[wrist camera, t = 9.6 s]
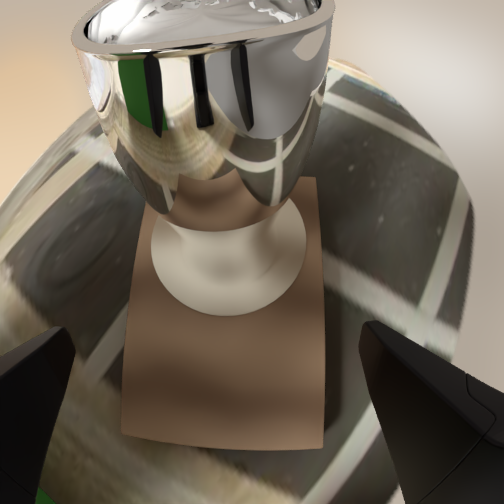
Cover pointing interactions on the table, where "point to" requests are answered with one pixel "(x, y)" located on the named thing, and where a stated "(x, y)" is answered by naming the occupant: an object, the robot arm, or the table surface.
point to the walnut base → (228, 343)
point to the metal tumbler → (210, 115)
